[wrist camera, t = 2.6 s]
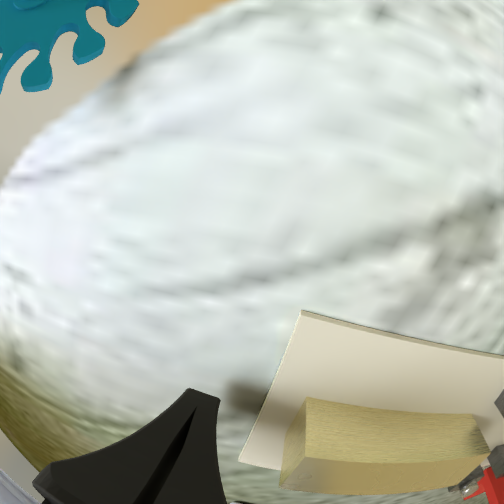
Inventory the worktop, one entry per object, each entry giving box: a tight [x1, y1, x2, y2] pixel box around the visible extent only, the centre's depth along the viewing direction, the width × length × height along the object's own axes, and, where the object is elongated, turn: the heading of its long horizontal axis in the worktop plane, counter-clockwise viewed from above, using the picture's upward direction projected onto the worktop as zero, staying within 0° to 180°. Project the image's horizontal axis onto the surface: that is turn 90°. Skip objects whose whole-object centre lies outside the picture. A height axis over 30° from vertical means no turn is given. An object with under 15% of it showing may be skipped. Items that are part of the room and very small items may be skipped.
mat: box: [238, 310, 504, 471], centre depth 10 cm, size 10×23×1 cm, turn 75°
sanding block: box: [279, 396, 491, 495], centre depth 9 cm, size 3×10×3 cm, turn 75°
